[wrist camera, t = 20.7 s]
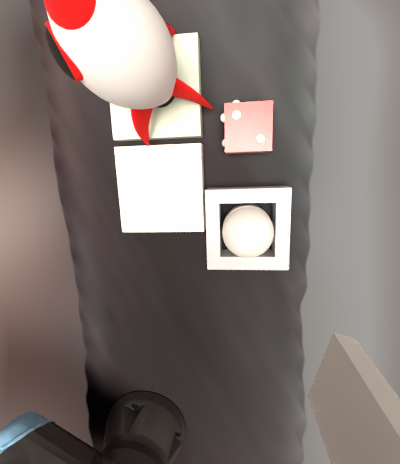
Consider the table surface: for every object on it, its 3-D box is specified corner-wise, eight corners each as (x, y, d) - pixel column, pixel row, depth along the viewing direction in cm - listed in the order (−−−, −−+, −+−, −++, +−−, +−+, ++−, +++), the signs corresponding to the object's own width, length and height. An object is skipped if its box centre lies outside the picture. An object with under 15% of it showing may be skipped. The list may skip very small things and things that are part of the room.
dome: (270, 248, 45) (276, 265, 37) (223, 248, 46) (221, 264, 38) (270, 202, 43) (278, 210, 36) (222, 203, 44) (220, 211, 37)
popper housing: (284, 261, 46) (288, 270, 42) (209, 260, 48) (207, 269, 44) (286, 185, 43) (291, 187, 40) (207, 187, 45) (204, 190, 41)
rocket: (109, 73, 40) (-77, -63, 16) (175, 30, 38) (71, -202, 14) (148, 146, 42) (31, 121, 18) (213, 109, 40) (179, 23, 16)
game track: (205, 228, 46) (203, 231, 44) (128, 228, 48) (122, 232, 46) (199, 40, 40) (197, 32, 38) (111, 48, 42) (103, 41, 40)
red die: (267, 152, 43) (272, 150, 36) (222, 154, 44) (220, 152, 37) (267, 104, 41) (273, 93, 35) (221, 107, 42) (219, 97, 36)
